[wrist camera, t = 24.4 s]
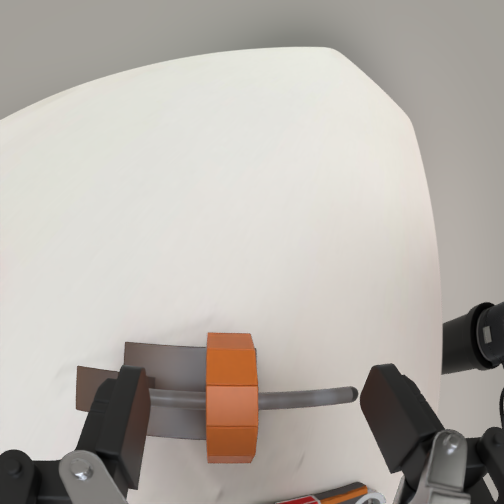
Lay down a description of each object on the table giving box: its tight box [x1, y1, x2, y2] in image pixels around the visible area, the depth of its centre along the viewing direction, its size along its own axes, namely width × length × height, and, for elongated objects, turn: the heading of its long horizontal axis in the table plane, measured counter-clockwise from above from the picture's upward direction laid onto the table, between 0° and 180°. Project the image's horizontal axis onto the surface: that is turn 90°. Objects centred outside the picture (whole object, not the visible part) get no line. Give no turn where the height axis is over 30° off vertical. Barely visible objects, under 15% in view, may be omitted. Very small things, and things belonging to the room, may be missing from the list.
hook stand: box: [76, 342, 358, 440], centre depth 23 cm, size 20×10×14 cm, turn 91°
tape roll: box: [206, 333, 258, 463], centre depth 20 cm, size 3×10×10 cm, turn 1°
